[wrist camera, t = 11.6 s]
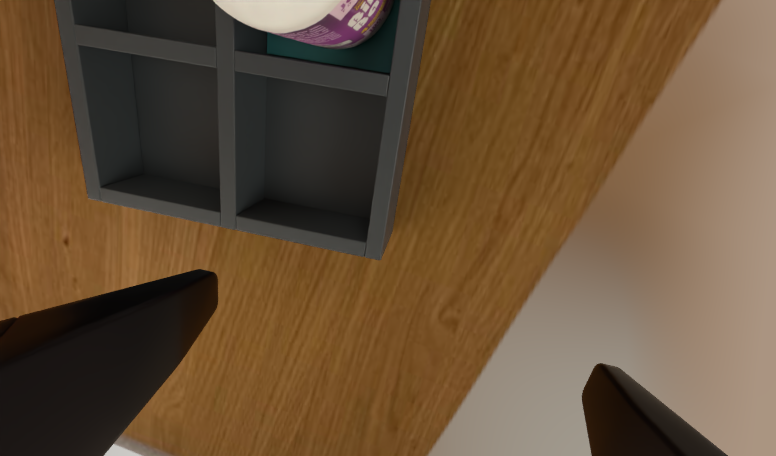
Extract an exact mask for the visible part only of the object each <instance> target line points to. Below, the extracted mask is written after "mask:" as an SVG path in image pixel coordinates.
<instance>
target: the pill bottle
mask: <svg viewBox="0 0 776 456" xmlns="http://www.w3.org/2000/svg"><path fill="white" fill-rule="evenodd" d="M213 1H214V2H215V3H216V4H217V5H218V6H219V7H220V8H221V9H223V10H224V11H225V12H226V13H228V14H229V15H231V16H232V17H234V18H235V19H237V20H238V21H240V22H242V23H244V24H246V25H248V26H251V27H253V28H256V29H258V30H262V31H265V32H269V33H272V34H275V35H279V36H282V37H285V38H290V39H294V40H297V41H300V42H304V43H307V44H311V45H315V46H319V47H323V48H328V49H346V48H352V47H355V46H357V45H359V44H361V43H363V42H365V41H367V40H368V39H369V38H371V37H372V36H373V35H374V34H375V33H376V32H377V31H378V30H379V29H380V28H381V26H382V25H383V23H384V22H385V20H386V19H387V17H388V15H389V13H390V11H391V8H392V5H393V3H394V0H213Z"/></svg>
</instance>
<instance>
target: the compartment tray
mask: <svg viewBox="0 0 776 456" xmlns="http://www.w3.org/2000/svg"><path fill="white" fill-rule="evenodd" d="M54 2H55V8H56V14H57V20H58V26H59V31H60V37H61V43H62V49H63V55H64V60H65V66H66V72H67V78H68V84H69V90H70V95H71V101H72V107H73V113H74V119H75V124H76V130H77V136H78V142H79V148H80V154H81V159H82V165H83V171H84V177H85V183H86V188H87V194H88V198H89V199H92V200H97V201H102V202H105V203H110V204H115V205H120V206H124V207H129V208H134V209H139V210H143V211H148V212H153V213H158V214H162V215H167V216H172V217H176V218H181V219H186V220H191V221H195V222H200V223H205V224H210V225H214V226H219V227H224V228H228V229H233V230H236V229H237V230H238V231H243V232H248V233H253V234H257V235H262V236H267V237H272V238H276V239H281V240H286V241H291V242H295V243H300V244H305V245H309V246H314V247H319V248H324V249H328V250H333V251H338V252H343V253H347V254H352V255H357V256H362V257H364V256H365V257H366V258H371V259H376V260H381V258H382V256H383V253H384V251H385V248H386V246H387V243H388V241H389V239H390V236H391V234H392V230H393V224H394V218H395V212H396V206H397V200H398V194H399V188H400V182H401V176H402V170H403V164H404V158H405V152H406V146H407V140H408V134H409V128H410V122H411V116H412V110H413V104H414V98H415V92H416V86H417V80H418V74H419V68H420V62H421V56H422V50H423V44H424V38H425V32H426V26H427V20H428V14H429V8H430V2H431V0H394V3H393V5H392V8H391V11H390V13H389V15H388V17H387V19H386V20H385V22H384V23H383V25H382V26H381V28H380V29H379V30H378V31H377V32H376V33H375V34H374V35H373V36H372V37H371V38H369V39H368V40H367V41H365V42H363V43H361V44H359V45H357V46H355V47H352V48H346V49H328V48H323V47H319V46H315V45H311V44H307V43H304V42H300V41H297V40H294V39H290V38H285V37H282V36H279V35H275V34H272V33H269V32H265V31H262V30H258V29H256V28H253V27H251V26H248V25H246V24H244V23H242V22H240V21H238V20H237V19H235V18H234V17H232V16H231V15H229V14H228V13H226V12H225V11H224V10H223V9H221V8H220V7H219V6H218V5H217V4H216V3H215V2H214V1H213V0H54Z"/></svg>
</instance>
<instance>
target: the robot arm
mask: <svg viewBox="0 0 776 456" xmlns="http://www.w3.org/2000/svg"><path fill="white" fill-rule="evenodd" d="M217 305H218V278H217V275H216V274H215V273H214V272H210V271H206V270H202V269H198V270H194V271H190V272H186V273H182V274H178V275H175V276H171V277H167V278H163V279H159V280H155V281H152V282H148V283H144V284H140V285H136V286H133V287H129V288H125V289H121V290H117V291H113V292H110V293H106V294H102V295H98V296H94V297H90V298H87V299H83V300H79V301H75V302H71V303H68V304H64V305H60V306H56V307H52V308H48V309H45V310H41V311H37V312H33V313H29V314H25V315H22V316H19V317H18V318H15V317H14V318H10V319H6V320H2V321H0V456H104V455H105V453H106V452H107V451H108V450H109V448H110V447H111V446H112V445H113V444H114V442H115V441H116V440H117V439H118V438H119V436H120V435H121V434H122V433H123V432H124V430H125V429H126V428H127V427H128V426H129V424H130V423H131V422H132V421H133V419H134V418H135V417H136V416H137V415H138V413H139V412H140V411H141V410H142V409H143V407H144V406H145V405H146V404H147V403H148V401H149V400H150V399H151V398H152V397H153V395H154V394H155V393H156V392H157V390H158V389H159V388H160V387H161V386H162V384H163V383H164V382H165V381H166V380H167V378H168V377H169V376H170V375H171V374H172V372H173V371H174V370H175V369H176V367H177V366H178V365H179V364H180V362H181V361H182V359H183V358H184V357H185V355H186V354H187V352H188V351H189V349H190V348H191V346H192V345H193V343H194V342H195V340H196V339H197V337H198V336H199V334H200V333H201V331H202V330H203V328H204V327H205V325H206V324H207V322H208V321H209V319H210V318H211V316H212V315H213V313H214V312H215V310H216V308H217ZM582 403H583V409H584V415H585V420H586V426H587V432H588V437H589V443H590V448H591V454H592V456H728V455H726V454H725V453H724V452H723V451H721V450H720V449H719V448H718V447H716V446H715V445H714V444H713V443H711V442H710V441H709V440H708V439H707V438H705V437H704V436H703V435H701V434H700V433H699V432H698V431H697V430H695V429H694V428H693V427H692V426H690V425H689V424H688V423H687V422H685V421H684V420H683V419H682V418H681V417H679V416H678V415H677V414H676V413H674V412H673V411H672V410H671V409H669V408H668V407H667V406H666V405H664V404H663V403H662V402H661V401H659V400H658V399H657V398H656V397H655V396H653V395H652V394H651V393H650V392H648V391H647V390H646V389H645V388H643V387H642V386H641V385H640V384H638V383H637V382H636V381H635V380H633V379H632V378H631V377H630V376H629V375H627V374H626V373H625V372H623V371H622V370H621V369H620V368H618V367H615V366H610V365H606V364H602V363H600V364H597V365H596V366H595V367H594V369H593V371H592V373H591V375H590V377H589V379H588V381H587V383H586V385H585V387H584V390H583V393H582Z"/></svg>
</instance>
